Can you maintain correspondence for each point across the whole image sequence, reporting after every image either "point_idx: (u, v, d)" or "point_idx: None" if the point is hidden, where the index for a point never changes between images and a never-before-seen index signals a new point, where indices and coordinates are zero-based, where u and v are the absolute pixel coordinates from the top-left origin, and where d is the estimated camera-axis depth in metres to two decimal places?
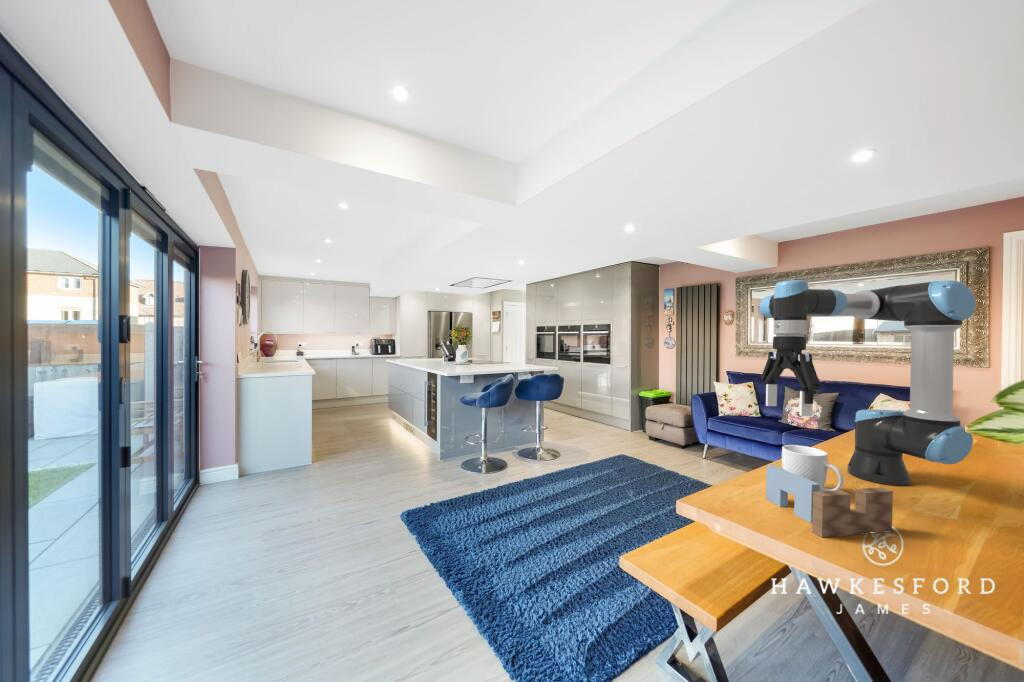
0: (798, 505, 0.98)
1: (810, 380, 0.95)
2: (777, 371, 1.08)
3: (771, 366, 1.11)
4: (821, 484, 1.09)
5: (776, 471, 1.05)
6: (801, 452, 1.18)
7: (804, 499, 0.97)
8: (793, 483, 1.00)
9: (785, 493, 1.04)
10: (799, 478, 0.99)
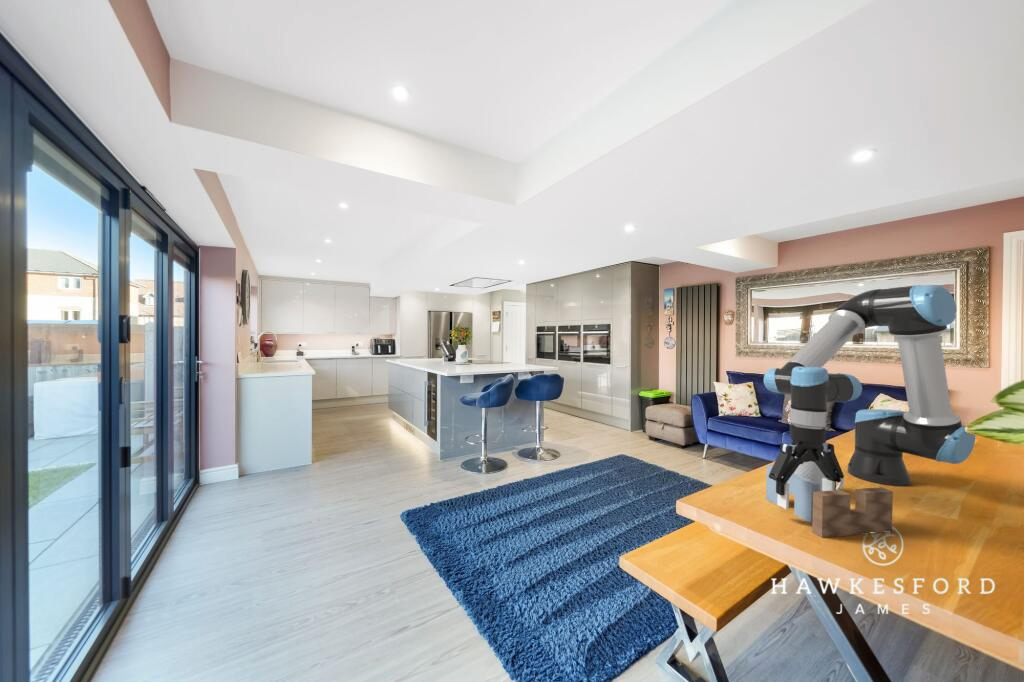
0: (798, 505, 0.98)
1: (772, 469, 0.97)
2: (818, 464, 0.98)
3: (828, 459, 0.98)
4: (821, 484, 1.09)
5: None
6: None
7: (804, 499, 0.97)
8: (793, 483, 1.00)
9: None
10: (799, 478, 0.99)
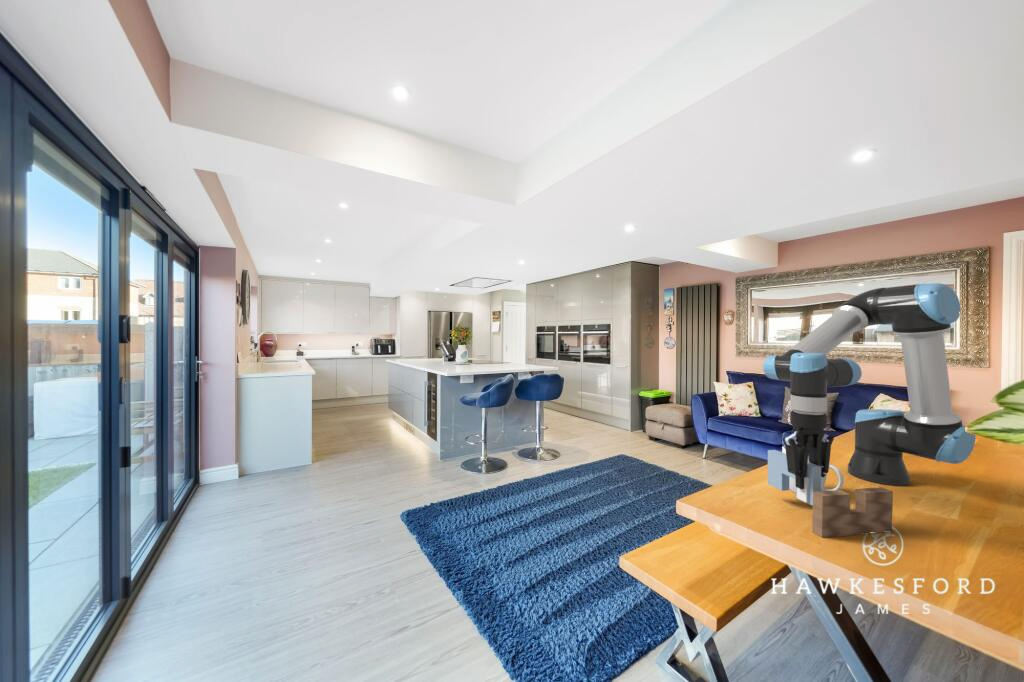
0: None
1: (788, 464, 0.98)
2: (811, 453, 0.98)
3: (821, 450, 0.98)
4: (821, 484, 1.09)
5: (778, 455, 1.05)
6: None
7: None
8: None
9: (787, 477, 1.04)
10: None
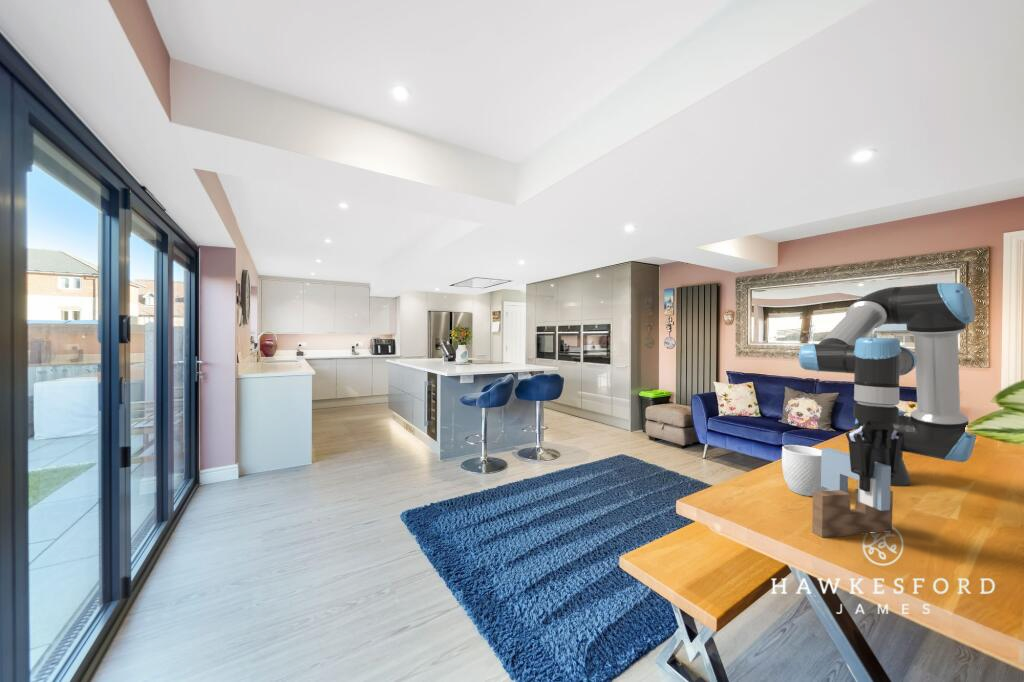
0: None
1: (851, 463, 0.86)
2: (877, 451, 0.87)
3: (888, 448, 0.87)
4: None
5: (835, 453, 0.94)
6: (801, 452, 1.18)
7: None
8: None
9: (845, 478, 0.93)
10: None
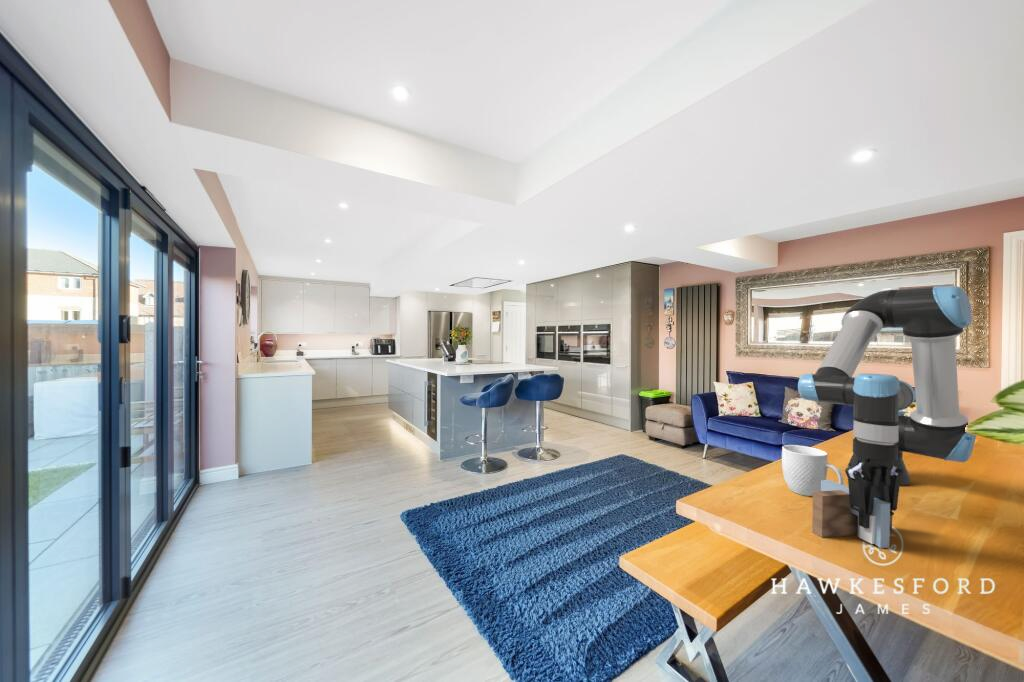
0: None
1: (851, 499, 0.86)
2: (876, 487, 0.87)
3: (887, 484, 0.87)
4: None
5: (834, 487, 0.94)
6: (801, 452, 1.18)
7: None
8: None
9: None
10: None
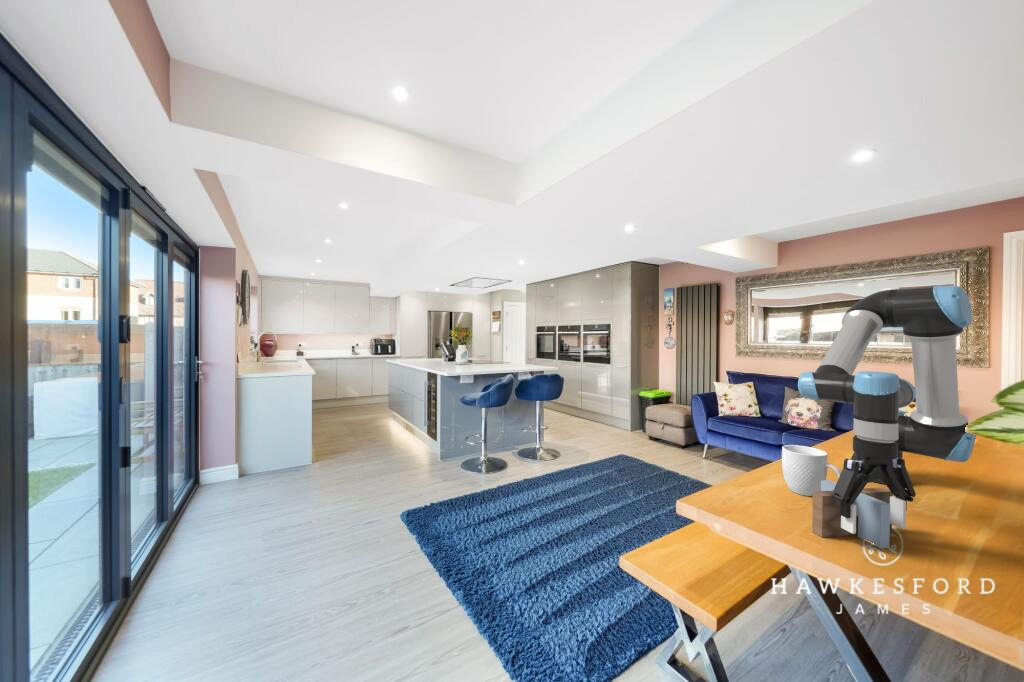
0: (863, 527, 0.87)
1: (835, 488, 0.86)
2: (886, 481, 0.87)
3: (897, 475, 0.87)
4: None
5: (834, 487, 0.94)
6: (801, 452, 1.18)
7: (871, 520, 0.86)
8: (856, 502, 0.89)
9: None
10: (864, 496, 0.88)
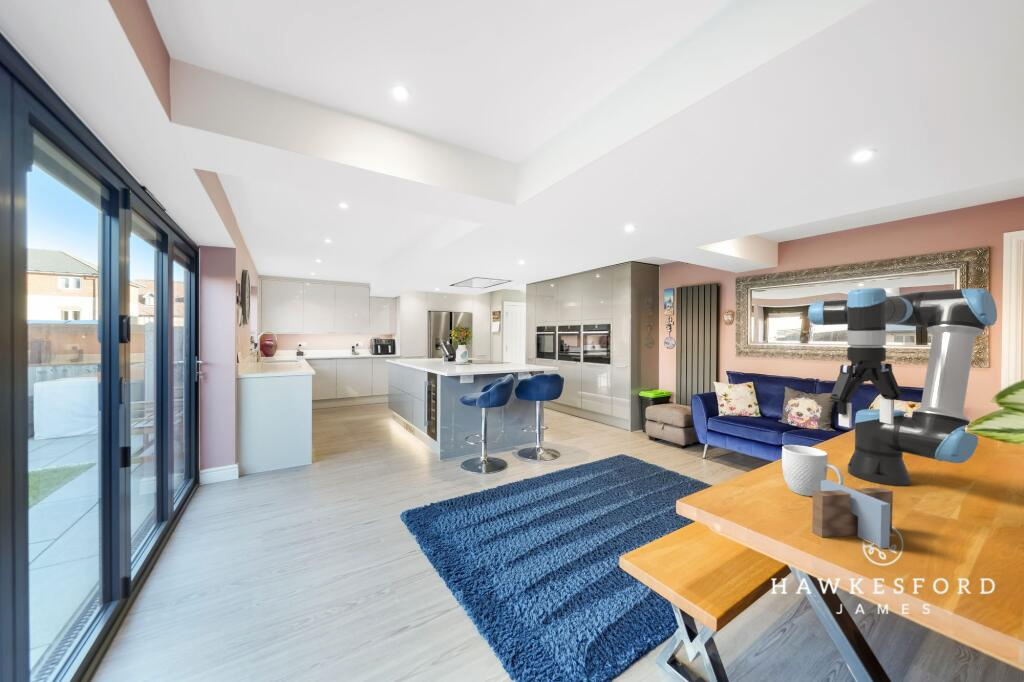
0: (863, 527, 0.87)
1: (833, 390, 0.99)
2: (876, 384, 1.01)
3: (885, 379, 1.01)
4: None
5: (834, 487, 0.94)
6: (801, 452, 1.18)
7: (871, 520, 0.86)
8: (856, 502, 0.89)
9: None
10: (864, 496, 0.88)
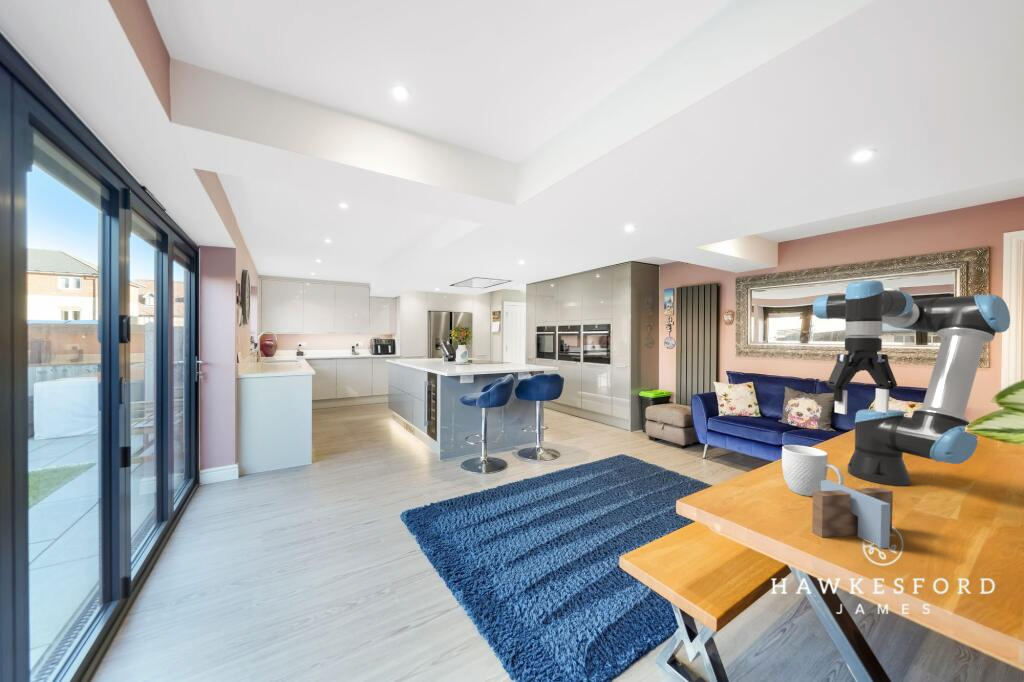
0: (863, 527, 0.87)
1: (830, 378, 1.03)
2: (872, 374, 1.04)
3: (881, 369, 1.05)
4: None
5: (834, 487, 0.94)
6: (801, 452, 1.18)
7: (871, 520, 0.86)
8: (856, 502, 0.89)
9: None
10: (864, 496, 0.88)
